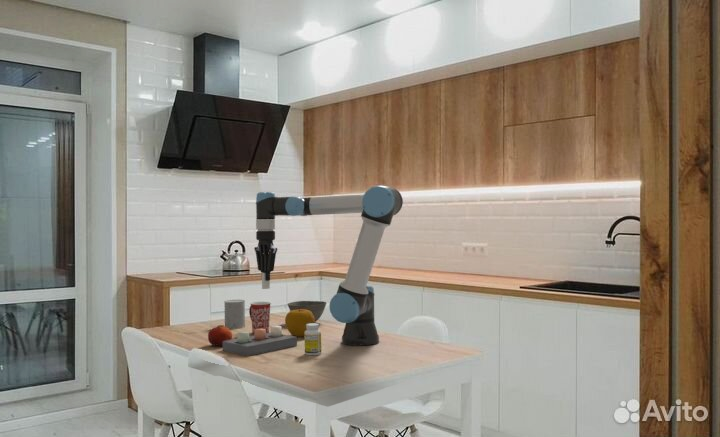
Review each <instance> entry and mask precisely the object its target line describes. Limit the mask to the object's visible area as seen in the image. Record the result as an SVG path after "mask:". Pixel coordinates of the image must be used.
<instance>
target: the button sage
mask: <svg viewBox="0 0 720 437" xmlns="http://www.w3.org/2000/svg"><path fill="white" fill-rule="evenodd" d="M236 334H237V338H236V339H238V343H239V344H245V343H249V336H250V332H249V331H238V332H237V333H236Z"/></svg>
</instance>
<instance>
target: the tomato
mask: <svg viewBox="0 0 720 437" xmlns="http://www.w3.org/2000/svg"><path fill="white" fill-rule="evenodd" d="M207 334H208V335H207V339H208V342H209V344H210V345H212V346H220V347H223V341H227V340H232V339H233V333H232V331H231V329H228V328H227V327H225V324H219V325H217V326H216V327H213V328H212V329H210V331H209V332H208V333H207Z"/></svg>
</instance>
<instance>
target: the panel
mask: <svg viewBox="0 0 720 437" xmlns="http://www.w3.org/2000/svg"><path fill="white" fill-rule="evenodd" d="M297 346H298V337H297V336H293V335H288V334H283V333H282V337H276V338H274V337H271V331H269V333H266V340H261V341H257V340H255V339H254V335H249V343H245V344H239V343H238V339H237V338H232V340H227V341H223V346H222V351H225V352H228V353H233V354H237V355H240V354H241V356H244V357H245V356H246V357H250V356H254V355H260V354H264V353H269V352H273V351H279V350H283V349H288V348H292V347H297Z"/></svg>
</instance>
